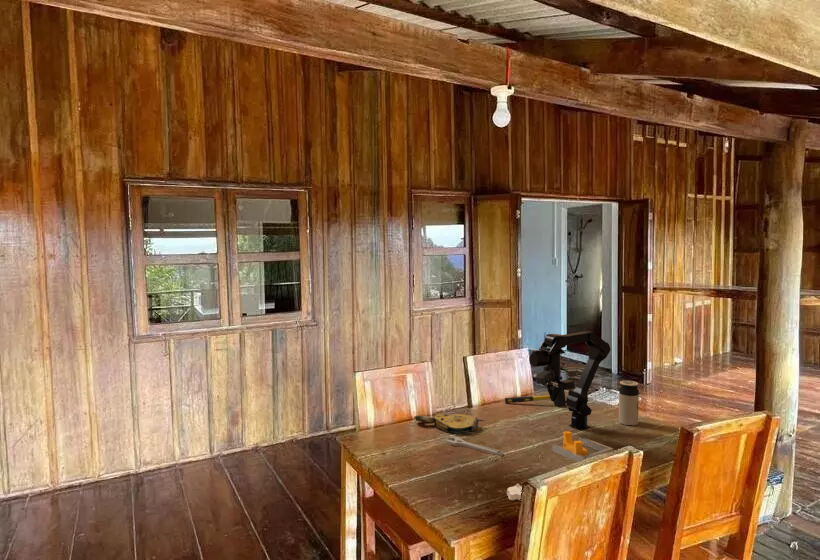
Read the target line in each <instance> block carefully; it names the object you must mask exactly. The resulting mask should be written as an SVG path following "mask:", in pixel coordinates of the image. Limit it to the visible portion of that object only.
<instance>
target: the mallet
mask: <svg viewBox="0 0 820 560" xmlns="http://www.w3.org/2000/svg"><path fill="white" fill-rule="evenodd" d="M566 399H567V398H566V390H563V389H561V390H560V392H559V394H558V395H557V397H556V399H555V401H554V402H553V405H554V406H555V407H556V406H557V407H556V408H563V407H565V406H567V404H566ZM542 400H543V401H544V400H545V401H546V400H547V401H549V400H551V398H550V395H548V394H547V395H533V396H527V395H526V396H515V397H505V398H504V404H506V405H507V404H511V403H513V404H514V403H517V404H518V403H526V402H535V401H542Z"/></svg>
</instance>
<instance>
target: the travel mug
mask: <svg viewBox="0 0 820 560" xmlns="http://www.w3.org/2000/svg"><path fill="white" fill-rule="evenodd" d="M619 384H620V387H619V390H618V423H620V424H621V425H626V426H629V425H632V426H637V425H638V424H639V406H640V405H639V398H640V397H639V396H640V395H639V394H640V390H639V388H638V385H639V382H637V381H633V380H620V381H619Z"/></svg>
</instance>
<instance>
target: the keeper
mask: <svg viewBox="0 0 820 560" xmlns="http://www.w3.org/2000/svg"><path fill="white" fill-rule="evenodd" d="M578 441H582V442H583V446H586V447H587V446H588V447H587V448H590V447H591V448H590V449H592V448H593V450H595V449H596V451H595V452H592V453H589V454H588V453H587V455H585V456H582V455H580V454H577V453H575V452H572V451H570V450H567V449H565V448H563V446H560V445H557V444H554V443H553V444H551V452H553V453H556V454H558V455H560V456H562V457H565V458H567V459H569V458H570V459H569V460H572V459H573V460H572V461H574V460H576V461H579V460H583V459H586V458H589V457H592V456H594V455H598V454H601V453H605V452H608V451H613V452H614V448H613V447H610V446H607V445H604V444H602V443H599V442H598V441H594V440H591V439H589V438H586V437H584V436H579V437H578ZM598 450H599V451H598ZM576 461H575V462H576Z"/></svg>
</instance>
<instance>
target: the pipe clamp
mask: <svg viewBox="0 0 820 560" xmlns="http://www.w3.org/2000/svg"><path fill="white" fill-rule="evenodd" d="M562 442H563V443H562V447H563V448H565V449H567V450H570V451H572V452H575V453H577V454H580V455H582V456H585V455H588V450H587V449H586V448H585V447H584V445H583V442H582V441H579V440H573V433H572V431H563V441H562Z"/></svg>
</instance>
